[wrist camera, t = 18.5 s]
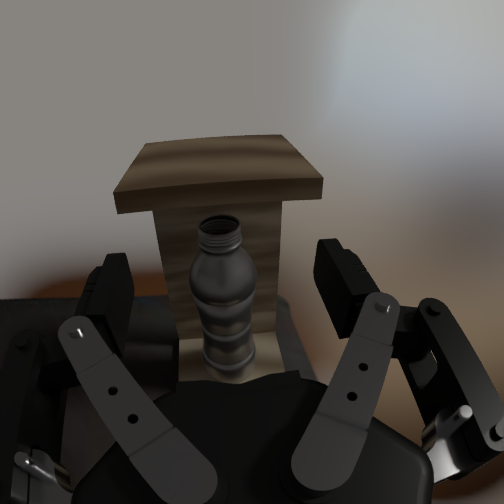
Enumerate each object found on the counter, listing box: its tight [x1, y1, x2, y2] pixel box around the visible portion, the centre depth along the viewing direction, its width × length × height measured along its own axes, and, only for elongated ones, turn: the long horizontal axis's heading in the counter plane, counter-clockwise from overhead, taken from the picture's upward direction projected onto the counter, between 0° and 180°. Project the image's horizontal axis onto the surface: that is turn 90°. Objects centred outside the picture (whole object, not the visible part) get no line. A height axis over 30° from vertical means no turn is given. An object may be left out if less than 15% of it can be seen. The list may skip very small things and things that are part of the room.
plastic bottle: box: [189, 214, 257, 384], centre depth 32 cm, size 6×7×20 cm
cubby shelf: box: [113, 135, 323, 384], centre depth 31 cm, size 12×13×27 cm
